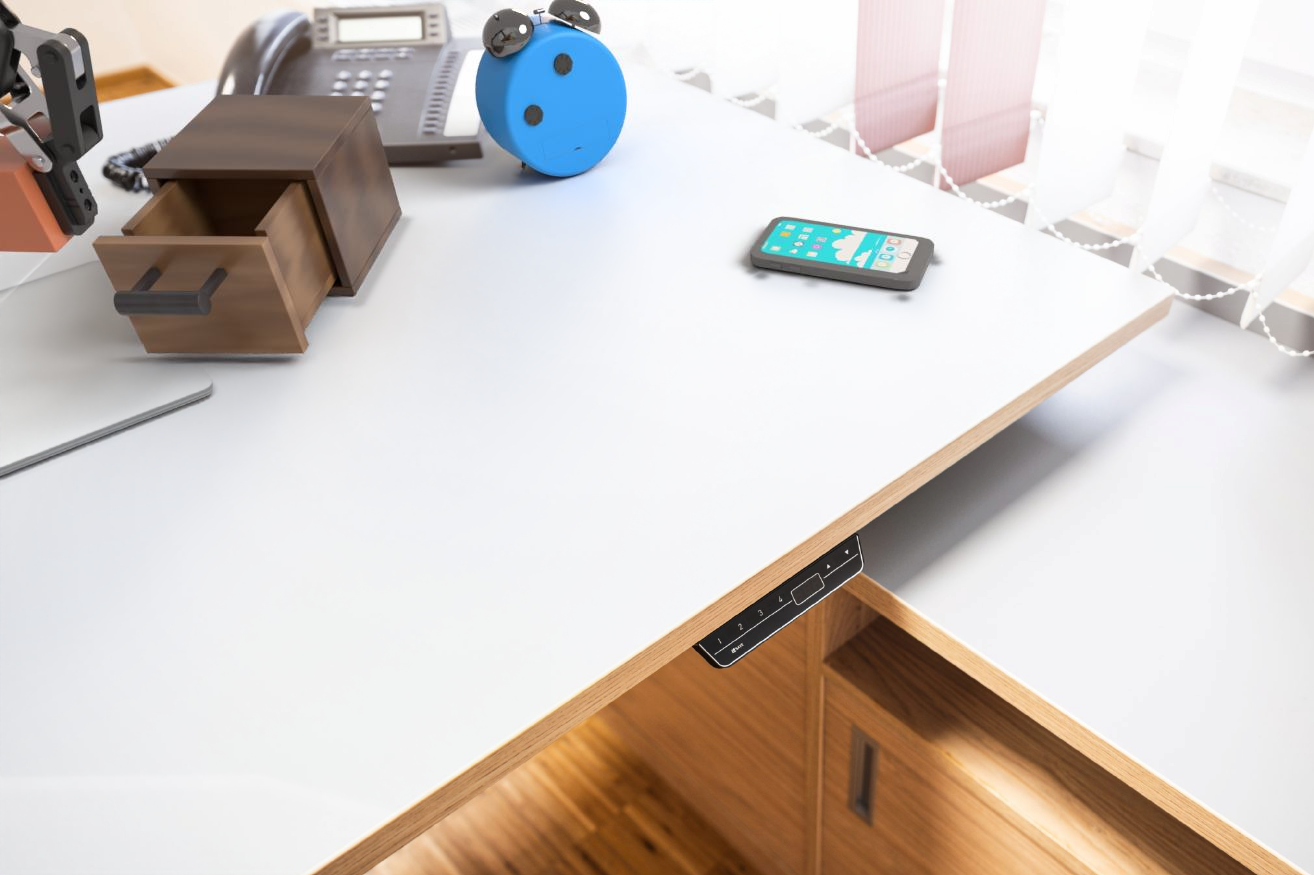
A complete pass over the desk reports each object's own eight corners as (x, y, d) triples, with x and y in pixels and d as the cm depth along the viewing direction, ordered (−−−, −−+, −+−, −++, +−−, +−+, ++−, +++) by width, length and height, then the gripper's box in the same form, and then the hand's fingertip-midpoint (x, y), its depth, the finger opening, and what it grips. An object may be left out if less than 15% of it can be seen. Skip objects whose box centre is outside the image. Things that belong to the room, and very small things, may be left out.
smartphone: (917, 282, 87) (745, 255, 89) (916, 293, 87) (745, 265, 90) (937, 236, 93) (776, 211, 95) (936, 246, 93) (776, 222, 96)
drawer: (280, 393, 74) (233, 281, 68) (116, 393, 74) (54, 281, 67) (357, 264, 87) (324, 161, 81) (218, 263, 87) (174, 159, 81)
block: (-29, 251, 56) (-77, 171, 53) (16, 213, 60) (-26, 134, 57) (56, 253, 57) (14, 172, 53) (97, 214, 60) (59, 136, 57)
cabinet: (355, 296, 85) (313, 169, 78) (197, 295, 85) (140, 168, 77) (402, 213, 96) (369, 95, 88) (262, 212, 95) (217, 94, 88)
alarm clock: (603, 140, 108) (583, -19, 98) (637, 160, 105) (619, -2, 95) (489, 174, 102) (454, 8, 92) (521, 196, 99) (488, 27, 88)
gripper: (49, -146, 49) (193, 200, 61) (-266, -157, 48) (-58, 195, 60) (-44, -107, 44) (134, 265, 56) (-399, -118, 43) (-143, 259, 55)
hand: (33, 226), depth 58 cm, fingers closed on block, 4 cm apart
